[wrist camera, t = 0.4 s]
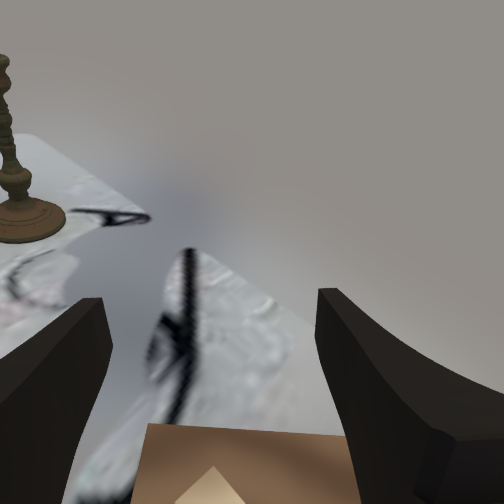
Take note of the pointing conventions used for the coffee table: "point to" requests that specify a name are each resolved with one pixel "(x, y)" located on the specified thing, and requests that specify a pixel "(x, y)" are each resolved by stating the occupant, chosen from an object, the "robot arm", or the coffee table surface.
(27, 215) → the candlestick holder
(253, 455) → the board
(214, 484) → the link
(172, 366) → the coffee table surface
